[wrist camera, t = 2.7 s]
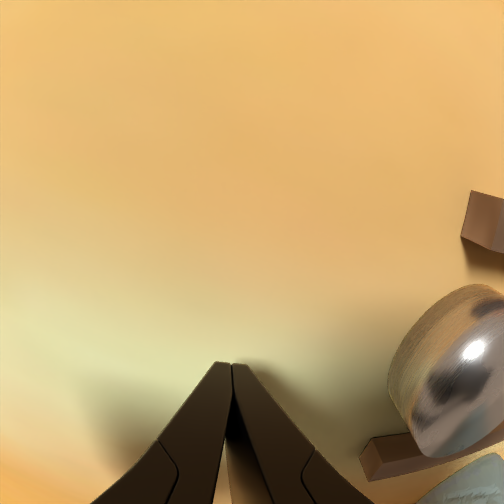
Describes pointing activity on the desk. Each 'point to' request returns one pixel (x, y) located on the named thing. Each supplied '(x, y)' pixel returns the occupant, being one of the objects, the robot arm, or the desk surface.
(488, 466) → the pale green cup
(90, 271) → the desk surface
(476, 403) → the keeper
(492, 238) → the channel
